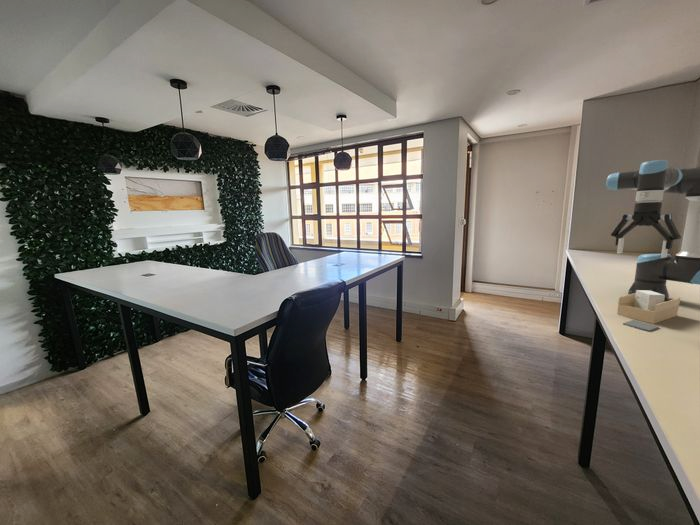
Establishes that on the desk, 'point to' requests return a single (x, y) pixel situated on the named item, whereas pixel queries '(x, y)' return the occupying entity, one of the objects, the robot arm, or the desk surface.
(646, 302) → the small box
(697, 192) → the robot arm
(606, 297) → the desk surface
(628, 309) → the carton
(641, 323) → the mat
